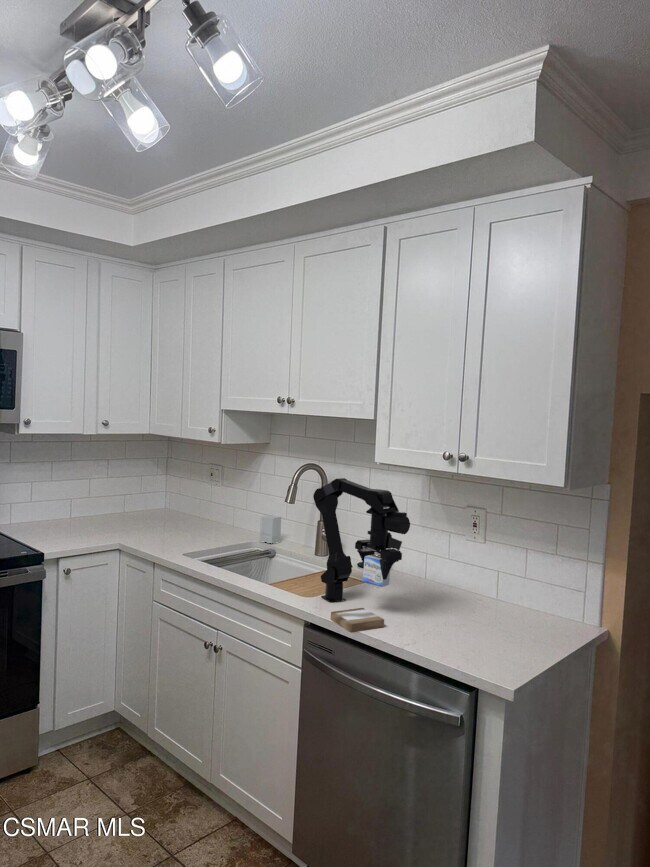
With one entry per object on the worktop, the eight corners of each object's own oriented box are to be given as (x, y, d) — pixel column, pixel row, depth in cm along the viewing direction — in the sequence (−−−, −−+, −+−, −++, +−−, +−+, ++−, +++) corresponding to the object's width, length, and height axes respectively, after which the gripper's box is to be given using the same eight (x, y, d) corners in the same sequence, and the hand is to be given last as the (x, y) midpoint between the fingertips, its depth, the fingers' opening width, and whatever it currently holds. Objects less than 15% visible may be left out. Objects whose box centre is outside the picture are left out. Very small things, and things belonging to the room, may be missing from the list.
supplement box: (280, 542, 308) (282, 516, 308) (271, 544, 302) (272, 518, 301) (268, 540, 312) (269, 514, 311) (259, 542, 306) (260, 516, 305)
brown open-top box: (330, 619, 200) (331, 610, 199) (362, 615, 206) (362, 606, 206) (351, 632, 189) (351, 623, 189) (383, 627, 195) (384, 618, 195)
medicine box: (362, 582, 209) (363, 556, 208) (369, 579, 212) (371, 554, 212) (382, 587, 204) (384, 561, 204) (389, 584, 208) (391, 558, 207)
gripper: (416, 533, 204) (413, 581, 204) (382, 522, 220) (379, 566, 220) (388, 535, 198) (385, 584, 198) (355, 523, 214) (352, 569, 214)
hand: (376, 575), depth 208 cm, fingers closed on medicine box, 9 cm apart
